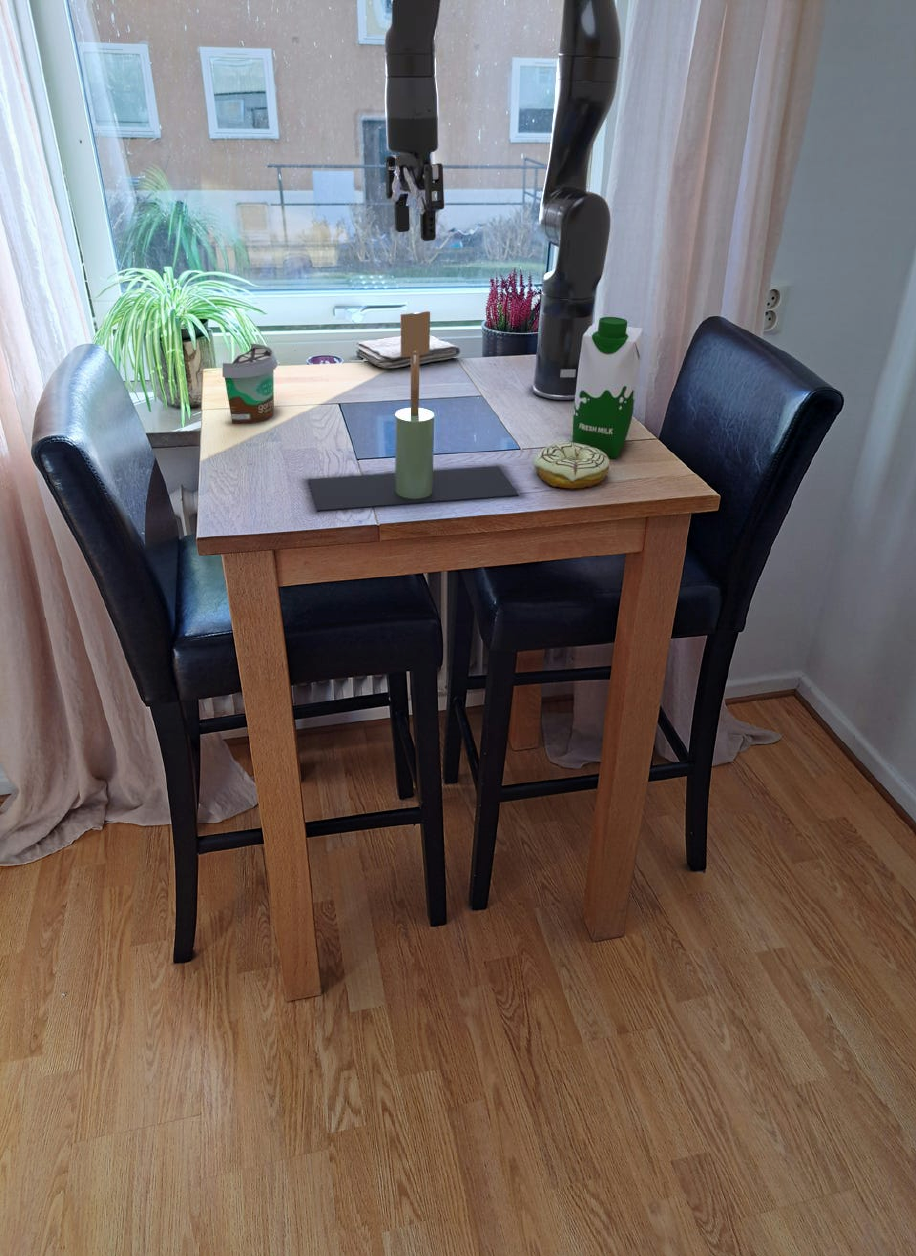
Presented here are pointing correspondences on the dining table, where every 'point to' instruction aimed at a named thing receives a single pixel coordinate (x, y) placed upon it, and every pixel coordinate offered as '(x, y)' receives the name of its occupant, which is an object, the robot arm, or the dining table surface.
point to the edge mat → (383, 493)
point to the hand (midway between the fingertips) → (415, 236)
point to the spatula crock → (414, 417)
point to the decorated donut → (571, 465)
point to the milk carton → (607, 384)
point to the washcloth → (389, 352)
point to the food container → (251, 385)
